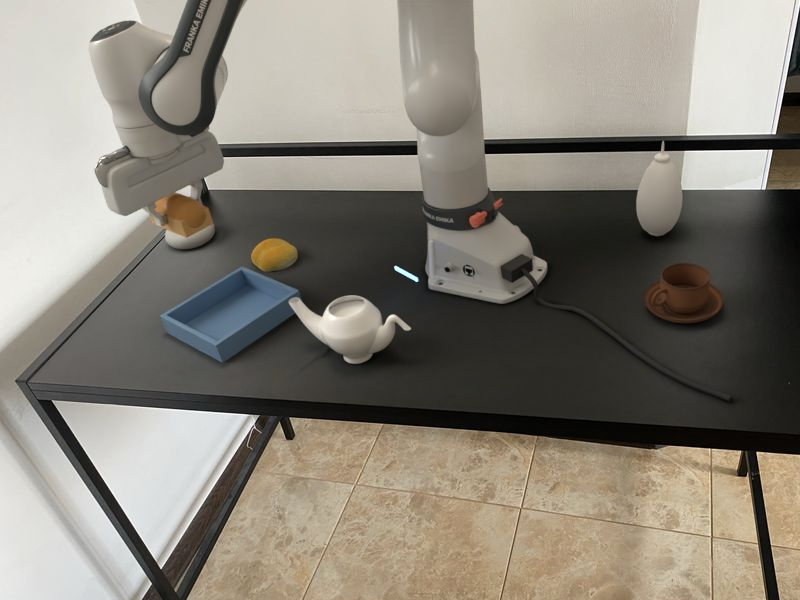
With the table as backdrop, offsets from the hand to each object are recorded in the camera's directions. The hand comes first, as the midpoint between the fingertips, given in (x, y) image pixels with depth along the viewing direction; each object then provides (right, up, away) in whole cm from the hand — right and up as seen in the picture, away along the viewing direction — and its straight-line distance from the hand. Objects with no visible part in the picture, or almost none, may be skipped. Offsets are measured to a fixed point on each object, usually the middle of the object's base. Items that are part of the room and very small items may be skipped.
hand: (180, 215), depth 124 cm
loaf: (0, -1, +1) cm, 2 cm away
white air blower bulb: (+83, -1, +14) cm, 84 cm away
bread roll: (+11, -5, +20) cm, 23 cm away
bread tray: (+8, -17, +5) cm, 20 cm away
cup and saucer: (+82, -16, -4) cm, 84 cm away
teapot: (+30, -23, -5) cm, 38 cm away
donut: (-9, 0, +30) cm, 32 cm away
